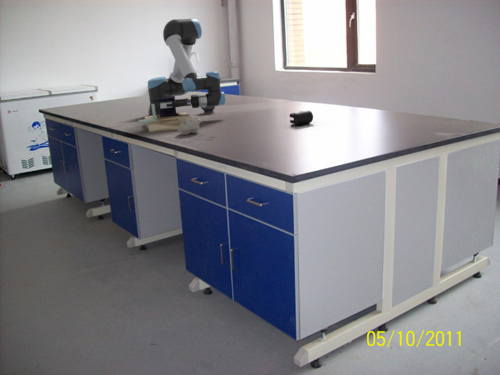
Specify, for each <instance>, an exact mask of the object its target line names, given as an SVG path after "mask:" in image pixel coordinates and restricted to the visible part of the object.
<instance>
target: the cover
mask: <svg viewBox="0 0 500 375" xmlns="http://www.w3.org/2000/svg"><path fill="white" fill-rule="evenodd" d="M151 105H152V113H153V118H152V119H145V118H144V119H138V123H139V125H141V124H145V123H148V122H151V121H157V120H156V113H155V105H154V104H151Z"/></svg>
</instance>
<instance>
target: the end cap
mask: <svg viewBox="0 0 500 375" xmlns="http://www.w3.org/2000/svg"><path fill="white" fill-rule="evenodd" d="M289 118H292V119H290V120H289V123H290V126H291V127H299V126H305V125H310V124H311V123H312V122H313V120H314V114H313V113H312V111H310V110H306V111H305V110H304V111H303V110H302V111H298V112H291V113H290V114H289Z"/></svg>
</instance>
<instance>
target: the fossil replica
mask: <svg viewBox="0 0 500 375" xmlns="http://www.w3.org/2000/svg"><path fill="white" fill-rule="evenodd" d="M201 122H202V120H201V119H200V118H199V117H192V118H191V119H185V120H184V121H183V122H182V124H181V125H180V126H178V129H177V131H178V133H179V134H180V135H183V136H187V135H189V134H197V133H198V132H199V131H200V124H201Z"/></svg>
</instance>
